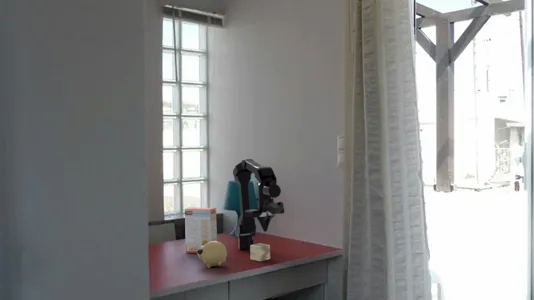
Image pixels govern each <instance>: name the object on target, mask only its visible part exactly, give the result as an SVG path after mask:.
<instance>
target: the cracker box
mask: <svg viewBox="0 0 534 300" xmlns="http://www.w3.org/2000/svg"><path fill="white" fill-rule="evenodd" d="M184 219H185V220H184V227H185V228H184V229H185V233H184V235H185V253H187V254H188V253H189V254H197V251H198V249H199V248H200V247H201V246H204V245H205V244H207V243H208V242H211V241H218V233H217V231H218V229H217V227H218V226H217V224H218V223H217V208H216V207H199V206H198V207H186V208H184Z"/></svg>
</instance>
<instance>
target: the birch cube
mask: <svg viewBox="0 0 534 300" xmlns="http://www.w3.org/2000/svg"><path fill="white" fill-rule="evenodd" d="M249 251H250V255H249V258H250V260H252V261H257V262H263V261H267V260H270V259H271V245H270V244H266V243H260V242H259V243H255V244H254V243H253V245H250V249H249Z"/></svg>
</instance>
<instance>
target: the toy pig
mask: <svg viewBox="0 0 534 300" xmlns="http://www.w3.org/2000/svg"><path fill="white" fill-rule="evenodd" d="M196 254H197V257H198V258H199V259H200V260H202V261H203V263H204V264H205V265H206V266H207V269H211V268H212V267H218V266H221V265H222V264H223V263H226V262H227V261H226V259H227V255H228V252H227V247H226V246H225V245H224V244H223V243H222V242H220V241H218V240H217V241H211V242H208V243H207V244H205V245H204V246H201V247H200V248H199V249H198V251H197V253H196Z"/></svg>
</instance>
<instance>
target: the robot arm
mask: <svg viewBox="0 0 534 300" xmlns="http://www.w3.org/2000/svg"><path fill="white" fill-rule="evenodd" d="M253 174H254V178H255V179H256V180H257V182H256V185H257V195H258V196H257V197H256V200H255V201H257V204H258V206H257V207H256V209H252V208H251V202H250V193H249V192H250V189H249V184H250V182H251V180H252V175H253ZM232 175H233V179H234V181H235V183H236V184H237V186H238V187H237V188H238V199H239V210H240V211H239V212H240V215H239V219H238V220H237V226H236V228H235V231H234V236H235V237H237V238H238V246H237V249H238V250H239V251H247V250H250V245H254V238H253V237H255V236H256V231H257V224H256V219H257V220H258V222H259V224H260V226H261V228H262V230H263V232H264V233H265V232H267V231H268V228H269V225H270V224H271V223H270V222H271V220H272V219H273V218H274V217H275V216H276V215H277V214H278V215H281V214H285V207H284V202H283V201H277V202H275V200H274V199H275V198H278V197H280V196H281V193H282V190H281V186H280V185H278V184H277V182H278V181H277V179H278V178H277V176H276V175H275V172H274V170H273V168H272V167H271V166H266V165H265V166H264V165H261V164H259V163H258V162H256V161H254V159H252V158H244V159H242V160H241V161H240V162H239V163H238V164H236V165H235V167H234V168H233V169H232Z"/></svg>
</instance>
